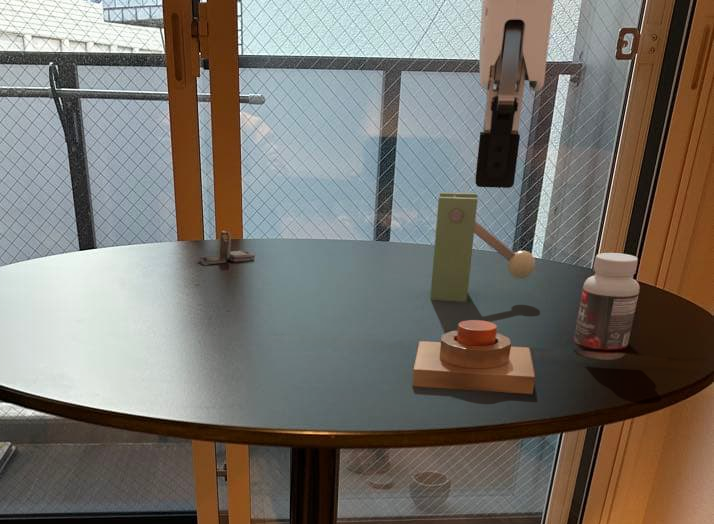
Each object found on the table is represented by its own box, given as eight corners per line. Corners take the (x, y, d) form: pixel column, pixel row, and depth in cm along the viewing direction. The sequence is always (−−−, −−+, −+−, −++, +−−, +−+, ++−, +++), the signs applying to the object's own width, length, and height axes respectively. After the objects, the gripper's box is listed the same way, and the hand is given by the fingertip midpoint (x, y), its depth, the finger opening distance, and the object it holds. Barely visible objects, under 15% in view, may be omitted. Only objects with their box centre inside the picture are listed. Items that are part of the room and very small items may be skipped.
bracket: (495, 299, 103) (509, 192, 97) (497, 317, 96) (512, 202, 89) (402, 294, 105) (409, 188, 99) (397, 312, 98) (404, 199, 91)
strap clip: (248, 256, 125) (247, 227, 123) (256, 260, 123) (255, 230, 121) (196, 261, 122) (195, 231, 120) (204, 265, 120) (202, 235, 117)
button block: (527, 363, 81) (532, 329, 79) (532, 394, 73) (538, 357, 72) (417, 357, 83) (420, 323, 81) (412, 386, 75) (414, 349, 73)
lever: (521, 280, 99) (539, 259, 97) (522, 286, 96) (541, 264, 95) (439, 213, 97) (456, 190, 95) (438, 218, 94) (456, 194, 93)
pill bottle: (560, 349, 85) (577, 253, 80) (599, 343, 87) (618, 249, 82) (596, 364, 81) (616, 264, 76) (636, 357, 83) (658, 259, 78)
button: (494, 339, 78) (496, 321, 77) (495, 350, 75) (497, 331, 74) (456, 336, 78) (458, 318, 77) (456, 347, 75) (457, 329, 74)
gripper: (589, -102, 53) (545, 199, 62) (566, -68, 66) (532, 176, 75) (473, -100, 54) (447, 196, 63) (473, -67, 67) (451, 173, 77)
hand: (493, 183), depth 69 cm, fingers closed
